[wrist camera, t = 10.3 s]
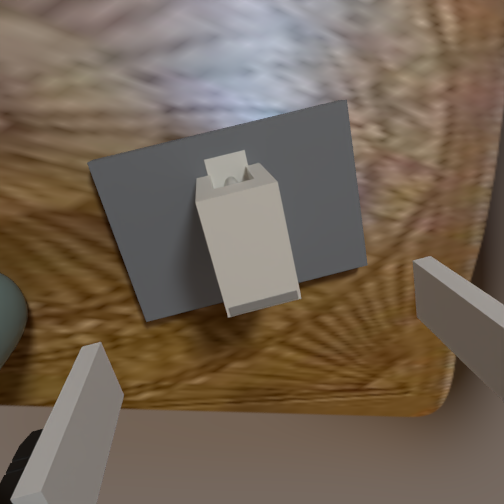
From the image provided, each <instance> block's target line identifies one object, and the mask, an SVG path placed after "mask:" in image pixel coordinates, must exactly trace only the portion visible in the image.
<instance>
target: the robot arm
mask: <svg viewBox="0 0 504 504" xmlns="http://www.w3.org/2000/svg"><path fill="white" fill-rule="evenodd" d="M413 270H414V283H415V296H416V309H417V317H418V318H419V319H420V320H421V321H422V322H423V323H424V324H425V325H426V326H427V327H428V328H429V329H430V330H431V331H432V332H433V333H434V334H435V335H436V336H437V337H438V338H439V339H440V340H441V341H442V342H443V343H444V344H445V345H446V346H447V347H448V348H449V349H450V350H451V351H452V352H453V353H454V354H455V355H456V356H457V357H458V358H459V359H460V360H461V361H462V362H463V363H464V364H465V365H467V367H468V368H470V369H471V370H472V371H473V372H474V373H475V374H476V375H477V376H478V377H479V378H480V379H481V380H482V381H483V382H484V383H485V384H486V385H487V386H488V387H489V388H490V389H491V390H492V391H493V392H494V393H495V394H496V395H497V396H498V397H499V398H500V399H501V400H502V401H503V402H504V305H503V304H501V303H500V302H499V301H497V300H496V299H494V298H493V297H491V296H490V295H488V294H486V293H485V292H483V291H482V290H481V289H479V288H478V287H476V286H475V285H473V284H472V283H470V282H469V281H467V280H466V279H464V278H463V277H461V276H460V275H458V274H457V273H455V272H454V271H452V270H451V269H449V268H448V267H446V266H445V265H443V264H442V263H440V262H438V261H437V260H435V259H434V258H432V257H431V256H429V257H425V258H421V259H417V260H414V261H413ZM123 397H124V394H123V392H122V390H121V387H120V385H119V383H118V380H117V378H116V376H115V373H114V371H113V369H112V366H111V364H110V362H109V360H108V357H107V355H106V353H105V350H104V348H103V346H102V343H101V342H99V343H95V344H91V345H87V346H84V347H82V348H81V350H80V352H79V355H78V357H77V359H76V361H75V363H74V365H73V367H72V369H71V372H70V374H69V376H68V378H67V380H66V382H65V384H64V386H63V389H62V391H61V393H60V395H59V397H58V399H57V401H56V403H55V406H54V408H53V410H52V412H51V414H50V416H49V418H48V420H47V423H46V425H45V427H44V429H40V430H37V431H33V432H32V433H31V434H30V435H29V436H28V437H27V438H26V439H25V440H24V442H23V443H22V444H21V445H20V446H19V448H18V450H17V452H16V454H15V456H14V457H13V459H12V463H10V465H9V467H8V469H7V471H6V475H4V477H3V479H2V481H1V483H0V504H97V500H98V496H99V491H100V488H101V484H102V480H103V476H104V472H105V468H106V464H107V460H108V456H109V452H110V448H111V444H112V440H113V436H114V432H115V428H116V424H117V420H118V416H119V412H120V409H121V405H122V401H123Z"/></svg>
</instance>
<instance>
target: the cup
mask: <svg viewBox="0 0 504 504" xmlns="http://www.w3.org/2000/svg"><path fill="white" fill-rule="evenodd" d="M27 319H28V308H27V303H26V300H25V298H24V295H23V293H22V292H21V290H20V288H19V287H18V286H17V285H16V284H15V282H14V281H12V280H11V279H10V278H9V277H7V276H6V275H4V274H2V273H0V370H1V368H2V367H3V365H4V364H5V363H6V361H7V360H8V358H9V357H10V355H11V354H12V352H13V351H14V349H15V348H16V346H17V345H18V343H19V341H20V339H21V337H22V335H23V333H24V330H25V327H26V324H27Z"/></svg>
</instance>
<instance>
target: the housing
mask: <svg viewBox="0 0 504 504" xmlns="http://www.w3.org/2000/svg"><path fill="white" fill-rule="evenodd" d="M246 171H247V175H248V179H249V180H247V181H243V182H239V183H235V184H231V185H227V186H223V187H219V188H215V189H214V187H213V183H212V179H211V175H208V176H204V177H200V178H197V179H196V199H195V203H196V206H197V210H198V213H199V217H200V220H201V224H202V227H203V231H204V234H205V238H206V241H207V245H208V248H209V252H210V255H211V259H212V262H213V266H214V269H215V273H216V276H217V280H218V284H219V287H220V291H221V294H222V298H223V301H224V305H225V308H226V312H227V315H228V318H229V317H232V316H236V315H240V314H244V313H248V312H252V311H255V310H259V309H263V308H267V307H271V306H275V305H278V304H282V303H286V302H290V301H294V300H298V299H301V294H300V289H299V284H298V279H297V275H296V270H295V265H294V260H293V255H292V250H291V245H290V240H289V235H288V230H287V225H286V220H285V215H284V210H283V205H282V201H281V196H280V191H279V186H278V182H277V180H276V179H275V178H274V177H273V176H272V175H271V174H270V173H269V172H268V171H267V170H266V169H265V168H264V167H263V166H262V165H261V164H260V163H256V164H252V165H248V166H246Z"/></svg>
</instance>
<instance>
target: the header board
mask: <svg viewBox="0 0 504 504" xmlns="http://www.w3.org/2000/svg"><path fill="white" fill-rule="evenodd" d="M256 163H260V164H261V165H262V166H263V167H264V168H265V169H266V170H267V171H268V172H269V173H270V174H271V175H272V176H273V177H274V178H275V179H276V180H277V182H278V186H279V191H280V196H281V201H282V205H283V210H284V215H285V220H286V225H287V230H288V235H289V240H290V245H291V250H292V255H293V260H294V265H295V270H296V275H297V279H298V283H300V282H304V281H308V280H312V279H315V278H319V277H323V276H327V275H331V274H335V273H339V272H343V271H347V270H350V269H354V268H358V267H362V266H366V265H367V258H366V250H365V242H364V234H363V226H362V218H361V210H360V202H359V194H358V186H357V178H356V170H355V162H354V154H353V146H352V138H351V130H350V122H349V114H348V106H347V100H338V101H334V102H330V103H326V104H322V105H318V106H314V107H310V108H305V109H301V110H297V111H293V112H289V113H285V114H281V115H277V116H272V117H268V118H264V119H260V120H256V121H252V122H248V123H244V124H239V125H235V126H231V127H227V128H223V129H219V130H215V131H211V132H206V133H202V134H198V135H194V136H190V137H186V138H182V139H178V140H173V141H169V142H165V143H161V144H157V145H153V146H149V147H144V148H140V149H136V150H132V151H128V152H124V153H120V154H116V155H111V156H107V157H103V158H99V159H95V160H92V161H90V162H88V163H87V164H88V166H89V169H90V172H91V174H92V177H93V180H94V182H95V185H96V188H97V190H98V193H99V196H100V199H101V201H102V204H103V207H104V209H105V212H106V215H107V217H108V220H109V223H110V225H111V228H112V231H113V234H114V236H115V239H116V242H117V244H118V247H119V250H120V252H121V255H122V258H123V260H124V263H125V266H126V268H127V271H128V274H129V277H130V279H131V282H132V285H133V287H134V290H135V293H136V295H137V298H138V301H139V303H140V306H141V309H142V311H143V314H144V317H145V320H146V322H148V321H152V320H156V319H160V318H164V317H168V316H171V315H175V314H179V313H183V312H187V311H191V310H195V309H199V308H203V307H206V306H210V305H214V304H218V303H222V302H224V301H223V298H222V294H221V291H220V287H219V284H218V280H217V276H216V273H215V269H214V266H213V262H212V259H211V255H210V252H209V248H208V245H207V241H206V238H205V234H204V231H203V227H202V224H201V220H200V217H199V213H198V210H197V206H196V203H195V199H196V179H197V178H200V177H204V176H208V175H211V179H212V183H213V187H214V189H215V188H219V187H223V186H227V185H231V184H235V183H239V182H243V181H247V180H249V179H248V175H247V171H246V166H248V165H252V164H256Z"/></svg>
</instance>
